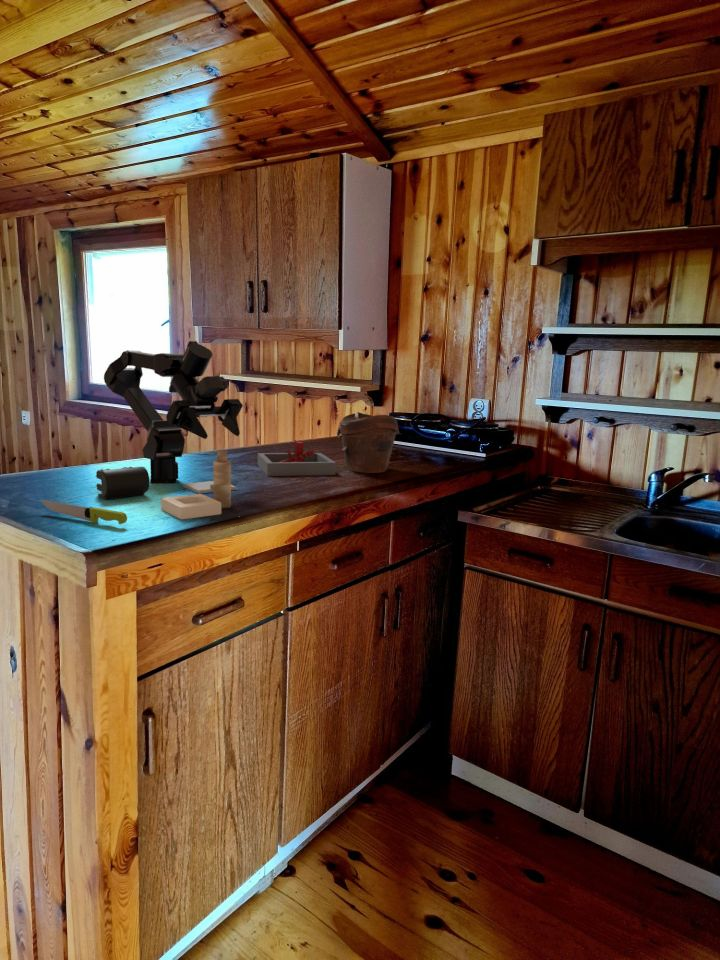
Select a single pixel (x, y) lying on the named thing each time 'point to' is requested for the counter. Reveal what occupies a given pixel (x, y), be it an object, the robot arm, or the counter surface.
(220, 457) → the birch pin
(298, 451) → the diorama
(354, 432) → the brown tapered pot
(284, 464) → the gray square tray
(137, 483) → the end cap
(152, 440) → the robot arm
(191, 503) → the white square socket base
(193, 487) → the lid panel
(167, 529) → the counter surface
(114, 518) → the kitchen knife
